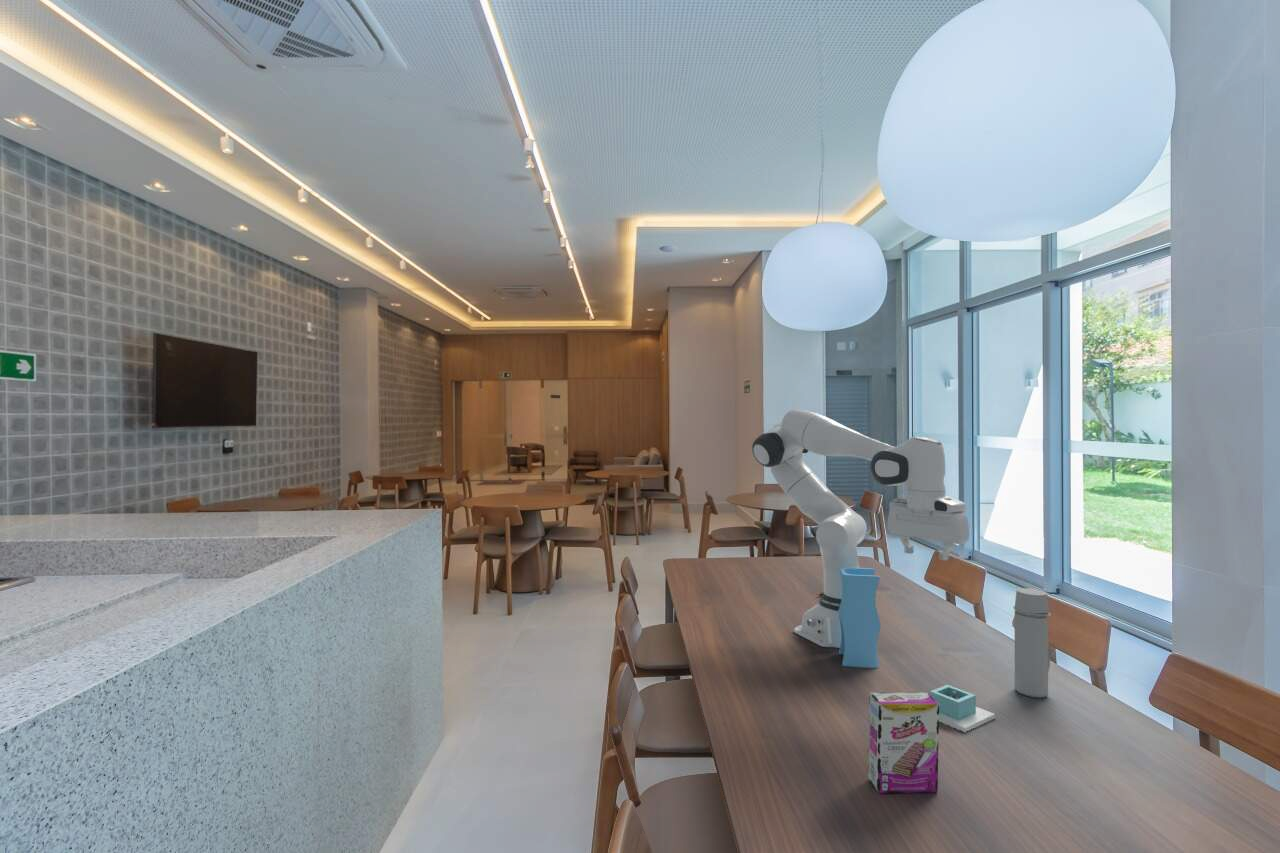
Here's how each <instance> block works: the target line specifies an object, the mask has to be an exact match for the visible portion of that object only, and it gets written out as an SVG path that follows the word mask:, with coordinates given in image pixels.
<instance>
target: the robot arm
mask: <svg viewBox="0 0 1280 853" xmlns="http://www.w3.org/2000/svg"><path fill="white" fill-rule="evenodd" d="M751 445H752V446H751V449H752V456H753V457H754V458H755V461H757V462H758V464H760V465H761V466H763V467H765V468H770V472H771V474H772V476H773V478H774V479H775V481H776V482H777V484H778V486H779V487H780V488H781V490H782V491H783V492H784V494H786V496H787V497H788V498H789V499H790V501H791V502H792V503H793V504H794V505H795V506H796V508H797V509H798V510H799V511H800V512H801V514H803V515H804V516H807V518H809V519H811V520H812V521H813V522H815V523H816V524H817V525H818V527H817V529H816V532H815V539H816V542H817V544H818V546H819V550H820V556H821V561H822V567H823V591H822V592H820V593H818V594H816V596H815V597H816V599H819V601H818V603H817V604H816V605H813V607H811V608H809V609H807V610H806V611H805V612H804V613H803V615H802V619H801V625H798V626H797V625H796V627H794V629H793V633H795V634H797V635H798V636H801V637H802V638H804V639H806V640H808V641H810V642H812V643H814V644H816V645H818V646H820V647H823V648H838V649H840V644H841V625H840V620H839V615H838V610H839V607H840V604H841V600H842V592H843V590H842V580H841V575H840V569H839V568H841V567H849V568H861V566H860V563H859V557H858V551H857V548H858V545H859V544H861V542H863V540H864V539H865V536H866V534H867V531H868V530H867V529H868V528H867V527H868V526H867V522H866V520H865V519H864V518H863V516H862V515H861V514H859V513H857V512H856V511H854V510H853V509H852V508H851V507H850V506H849V505H847V503H846V502H844V501H843V500H842V499H841V498H840V497H838V496H836V494H834V493H833V492H832V491H831V490H830V489H829V488H828V487H827V486H826V485H825V483H824V482H823V481H822V480H821V479H820V478H819V477H818V476H817V475H816V473H815V472H814V471H813V470H812V469H811V468H810V467H809V466H808V465H807V464H806V463H805V461H804V459H803V454H807V453H808V452H811V453H813V454H816V455H820V456H824V457H825V456H826V457H850V458H851V457H853V458H860V459H864V460H867V461H869V462H870V464H869V465H870V473H871V476H872V477H873V479H874V480H875V482H877V483H878V484H881V485H883V486H887V487H889V486H890V487H893V486H904V485H905V486H906V498H898V497H897V498H896V497H895V498H894V499H892V500H891V501H889V504H888V516H887V526H886V528H887V531H888V532H889V533H890V534H894V535H900V536H899V538H900V539H899V540H900V541H901V543H902V545H903V547H904V549H903V550H904V553H905V554H909V555H911V554H914V546H913V545H911V543H910V541H909V539H911V537H912V538H917V539H924V540H931V541H937V542H942V545H943V547H944V549H943V551H939V552H938V559H939V560H941V561H949V559H950V558H949V557H950V554H949V553H950V552H951V550H952V549H953V547H954V545H956V544H957V545H962V544H966V543H967V542H968V540H969V539H970V530H969V529H970V528H969V520H968V516H967V514H966V513H965V511H966V509H967V505H966V503H965V502H963V501H961V500H959V499H956V498H954V497H952V496H950V495H947V494H946V486H945V483H944V482H945V481H944V479H945V476H946V457H945V450H944V449H945V448H944V446H943V444H942V442H941V441H939V440H938V439H935V438H932V437H928V436H910V438H908V439H907V440H906V441H905V442H903V443H900V444H898V445H896V446H895V445H892V444H889V443H886V442H884V441H880V440H879V439H876V438H873V437H870V436H867V435H864V434H862V433H860V432H858V431H856V430H854V429H852V428H849V427H848V426H845V425H844V424H842V423H840V422H838V421H835V420H834V419H831V418H829V417H827V416H825V415H822V414H820V413H817V412H813V411H810V410H806V409H800V408H794V409H791V410H789V411H788V412H786V413H785V414H784V416H783V417H782V420H781V422H780V423H777V424H775V425H774V426H773V427H771V428H770V429H768V430H767V431H765V432H764V433H762V434H760V435H758V437H756V439H754V441H753V442H752V444H751Z"/></svg>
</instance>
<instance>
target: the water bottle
mask: <svg viewBox="0 0 1280 853" xmlns="http://www.w3.org/2000/svg"><path fill="white" fill-rule="evenodd" d="M1048 599H1049V598H1048V593H1047V592H1046V591H1044V590H1039V589H1036V588H1027V587H1024V588H1023V587H1022V588H1017V589H1016V593H1015V602H1014V603H1015V604H1014V606H1013V609H1014V689H1015V691H1017V692H1018V693H1019V694H1021V695H1023V696H1026V697H1029V698H1034V699H1036V698H1039V699H1040V698H1045V697H1047V696H1048V695H1049V672H1050V666H1051V656H1050V646H1049V617H1051V616H1052V614H1051V613H1050V607H1049V600H1048Z"/></svg>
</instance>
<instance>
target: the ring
mask: <svg viewBox="0 0 1280 853" xmlns="http://www.w3.org/2000/svg"><path fill="white" fill-rule="evenodd" d="M952 691H955V692H956V697H958V699H954V698H951V697H950V696H952ZM929 695H930V696H931V697H932V698H933V699H934V700H936V701H937V702H938V703H939V713H942V714H944V715H946V716H949V717H951V718H954V719H956V720H961V719H963V718H966V717H968V716H970V715H972V714H974V713H976V707H977V704H976V703H977V702H976V701H977V695H976V694H973V693H971V692H969V691H966V690H963V689H960V688H957V687H954V686H953V685H950V684H945V685H943V686H941V687H937V688H935V689H932V690H930V691H929Z"/></svg>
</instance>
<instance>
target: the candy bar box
mask: <svg viewBox="0 0 1280 853" xmlns="http://www.w3.org/2000/svg"><path fill="white" fill-rule="evenodd" d="M868 698H869V701H868V702H869V704H868V705H869V706H868V707H869V708H868V709H869V711H868V714H869V715H868V765H867V766H868V769H867V770H868V772H867V773H868V776H867V778H868V780H869V782H870V783H871V784H872V786H873V788H874V789H875V791H876V792H877V793H878V794H906V793H907V794H908V793H909V794H911V793H913V794H914V793H916V794H917V793H938V790H939V787H938V786H939V785H938V784H939V782H938V781H939V740H940V739H939V738H940V737H939V734H940V733H939V731H940V730H939V729H940V725H939V724H940V722H939V703H938V702H937V701H936V700H934V699H933V698H932V697H931V696H930V693H928V692H869V697H868Z"/></svg>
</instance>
